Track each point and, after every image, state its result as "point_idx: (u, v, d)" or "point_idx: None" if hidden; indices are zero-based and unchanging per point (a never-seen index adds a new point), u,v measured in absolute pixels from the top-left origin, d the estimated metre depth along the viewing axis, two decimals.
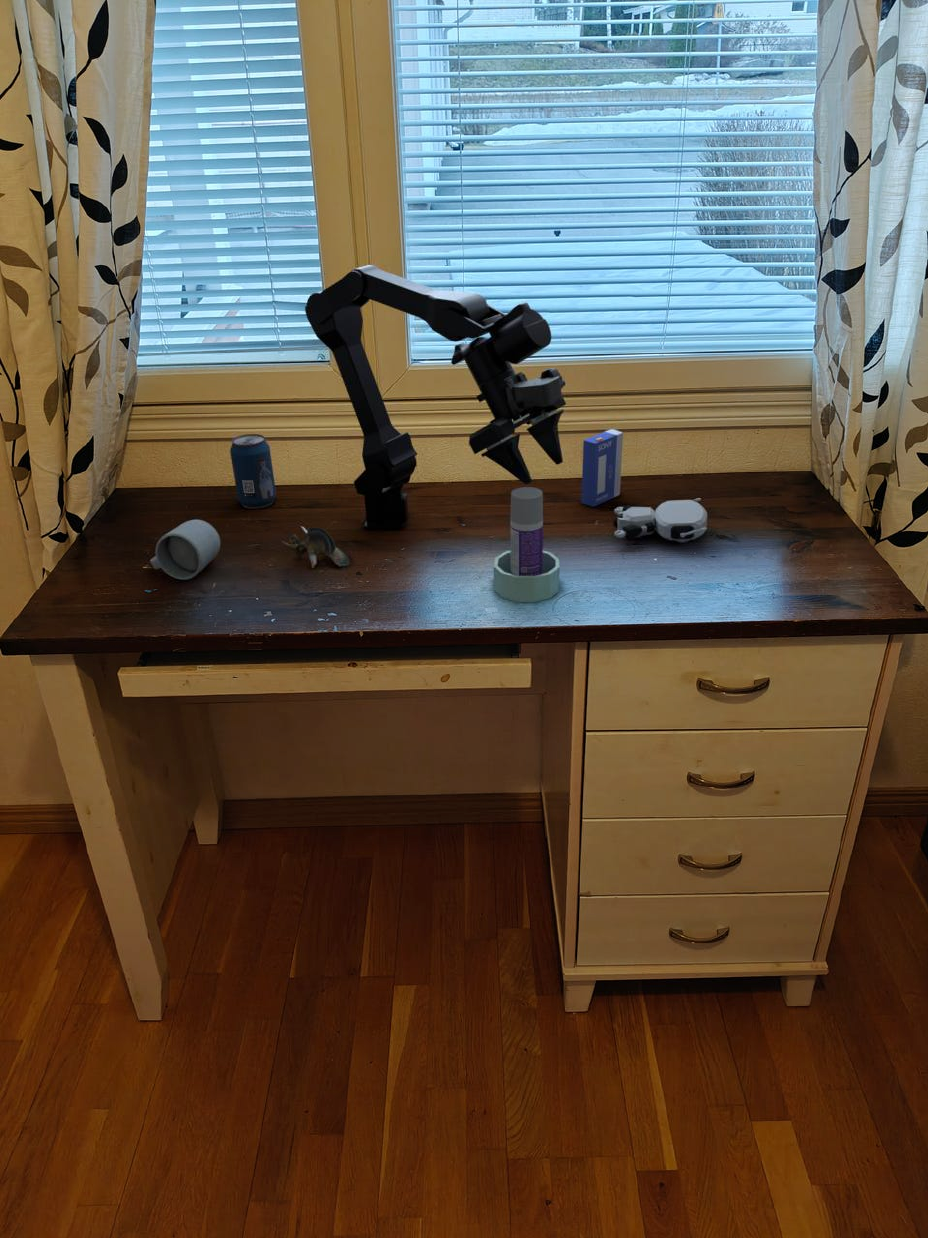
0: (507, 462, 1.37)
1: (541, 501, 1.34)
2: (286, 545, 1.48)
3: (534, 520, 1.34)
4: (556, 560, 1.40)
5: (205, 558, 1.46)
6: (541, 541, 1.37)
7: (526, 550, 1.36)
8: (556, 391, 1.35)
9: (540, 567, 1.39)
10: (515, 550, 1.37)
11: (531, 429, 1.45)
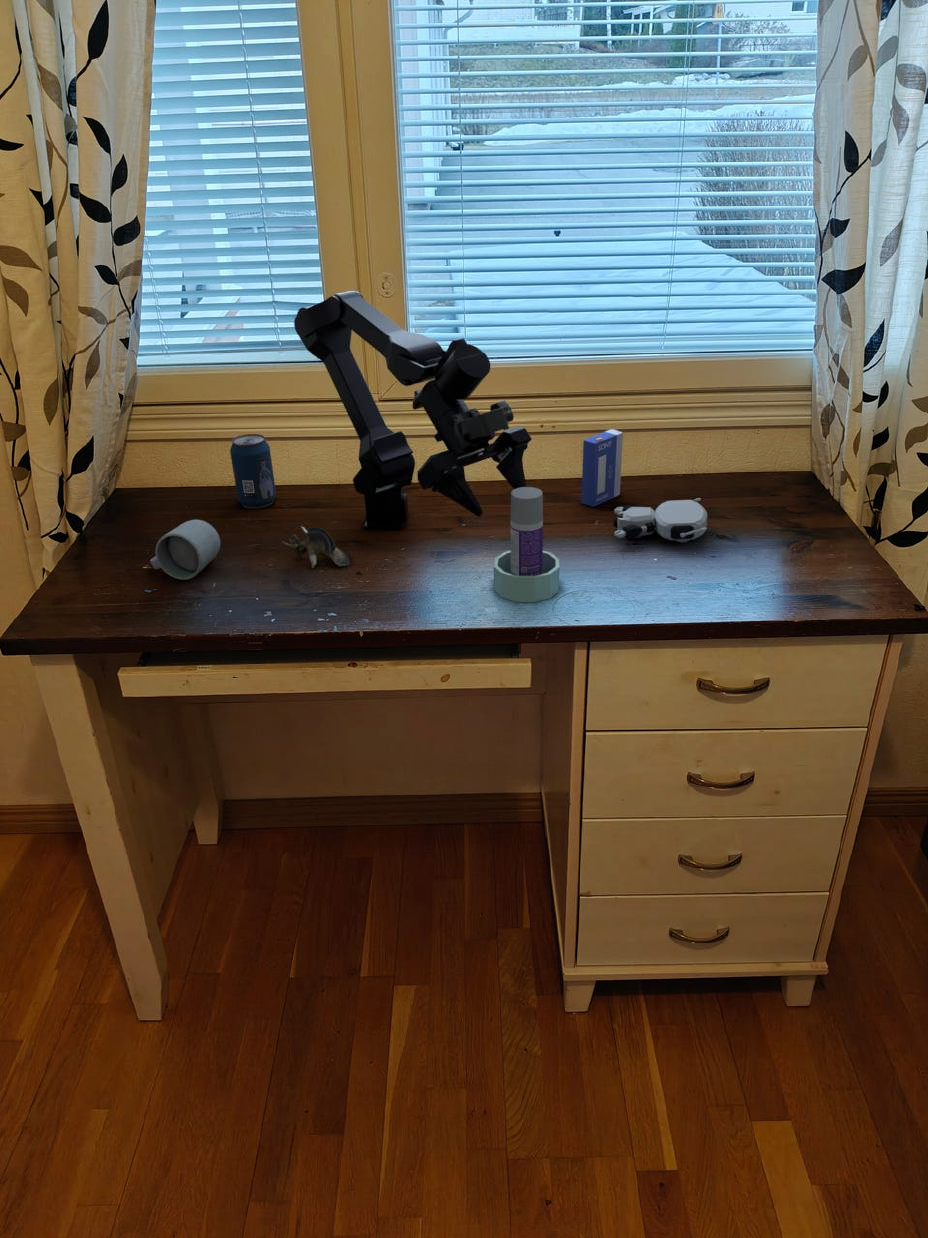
0: (457, 495, 1.37)
1: (541, 501, 1.34)
2: (286, 545, 1.48)
3: (534, 520, 1.34)
4: (556, 560, 1.40)
5: (205, 558, 1.46)
6: (541, 541, 1.37)
7: (526, 550, 1.36)
8: (499, 421, 1.34)
9: (540, 567, 1.39)
10: (515, 550, 1.37)
11: (499, 466, 1.45)
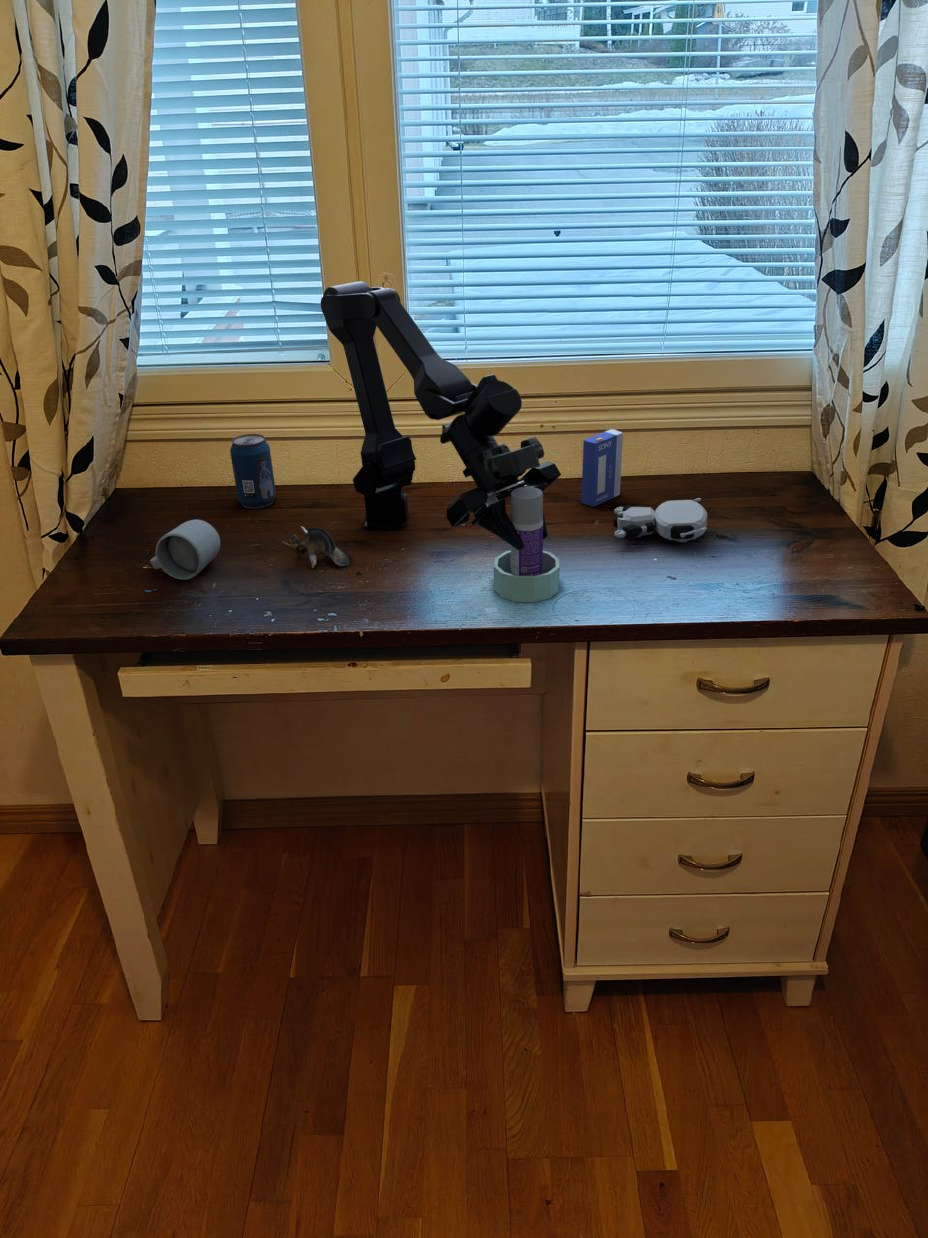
0: (498, 529, 1.36)
1: (541, 501, 1.34)
2: (286, 545, 1.48)
3: (534, 520, 1.34)
4: (556, 560, 1.40)
5: (205, 558, 1.46)
6: (541, 541, 1.37)
7: (526, 550, 1.36)
8: (530, 459, 1.32)
9: (540, 567, 1.39)
10: (515, 550, 1.37)
11: None
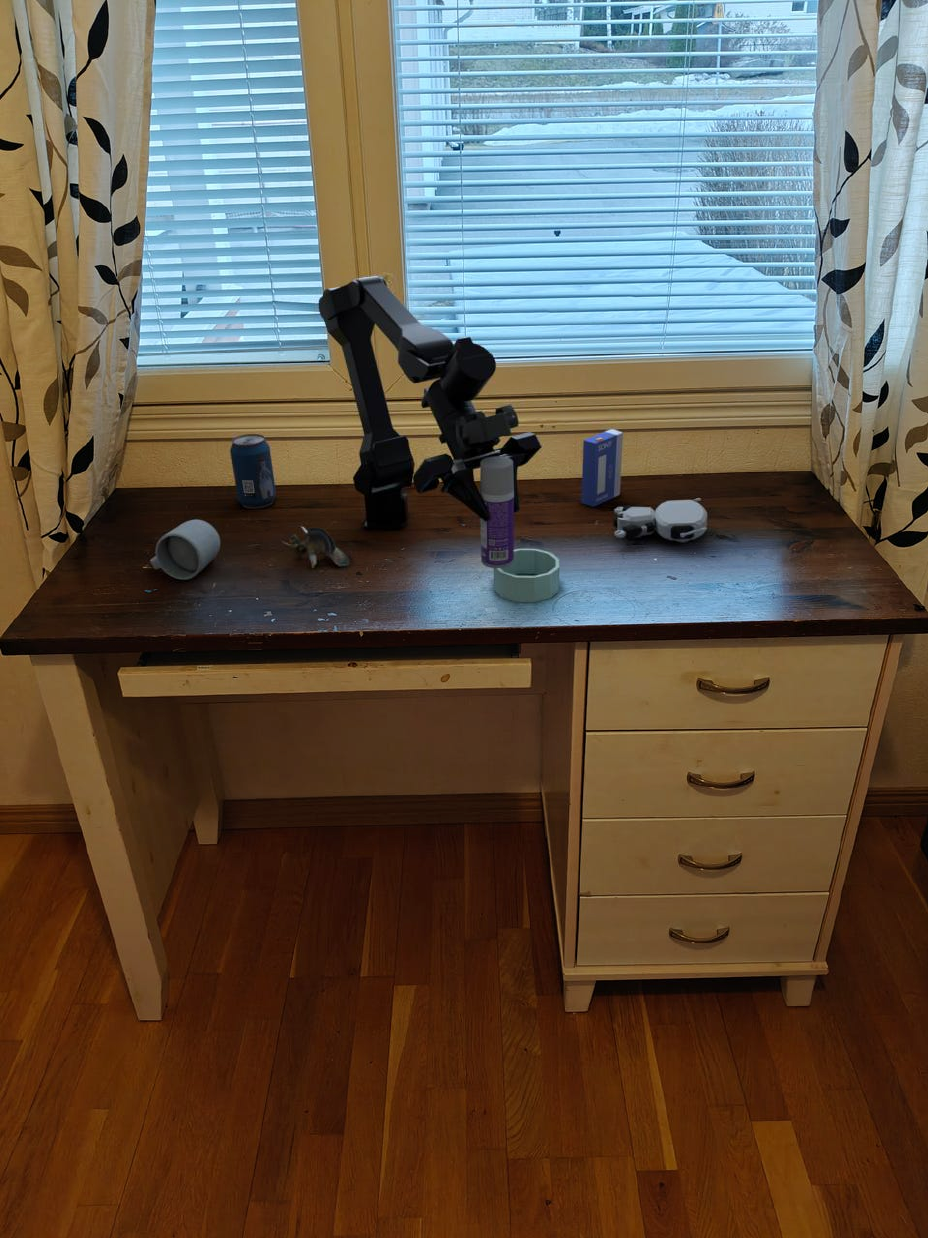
0: (466, 498, 1.32)
1: (510, 472, 1.29)
2: (286, 545, 1.48)
3: (502, 491, 1.29)
4: (556, 560, 1.40)
5: (205, 558, 1.46)
6: (511, 514, 1.32)
7: (493, 522, 1.31)
8: (500, 426, 1.27)
9: (509, 541, 1.34)
10: (483, 521, 1.32)
11: None
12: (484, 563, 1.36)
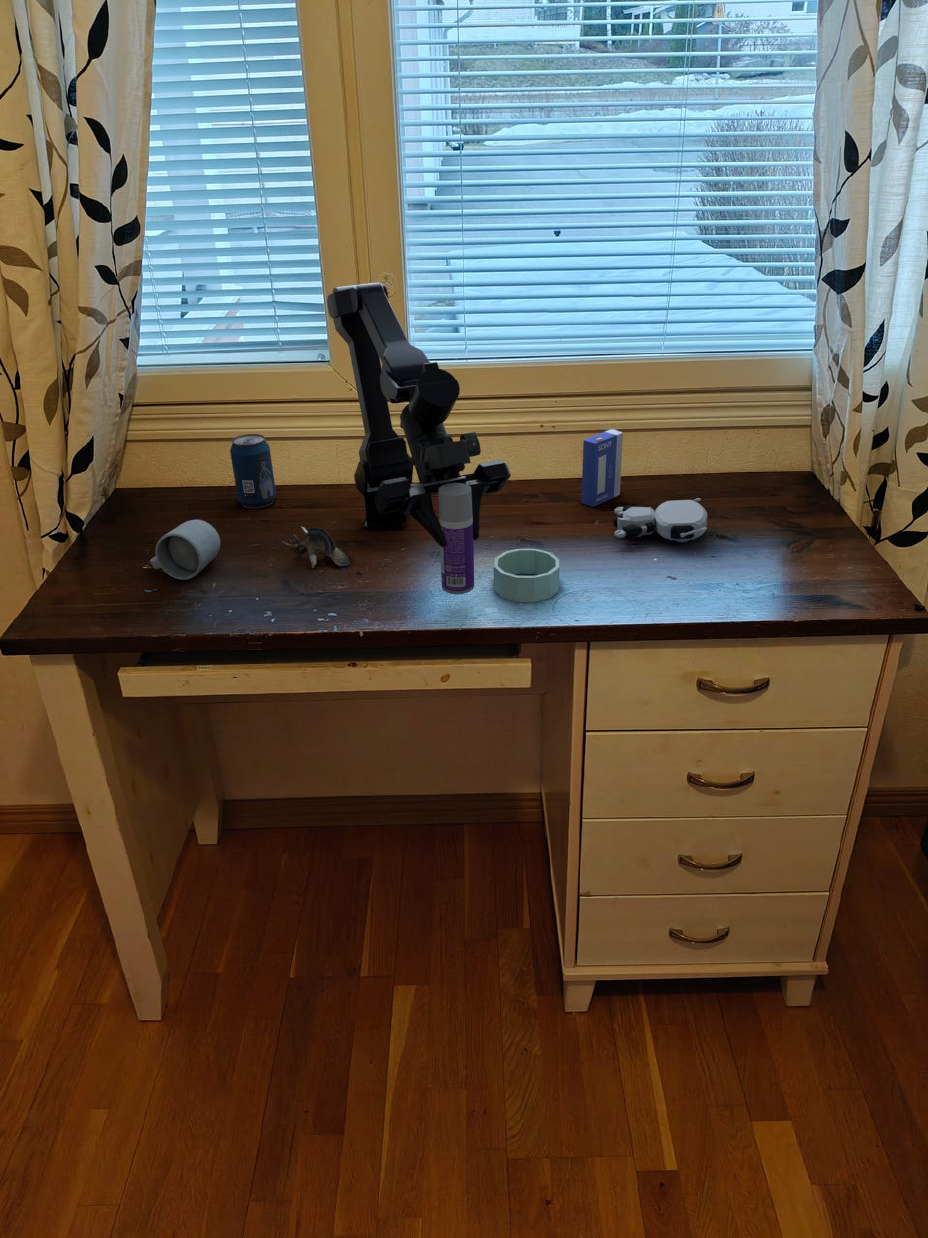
0: (425, 522, 1.32)
1: (467, 500, 1.28)
2: (286, 545, 1.48)
3: (457, 519, 1.28)
4: (556, 560, 1.40)
5: (205, 558, 1.46)
6: (468, 541, 1.31)
7: (449, 548, 1.31)
8: (457, 454, 1.26)
9: (467, 568, 1.33)
10: (441, 547, 1.32)
11: None
12: (443, 588, 1.36)
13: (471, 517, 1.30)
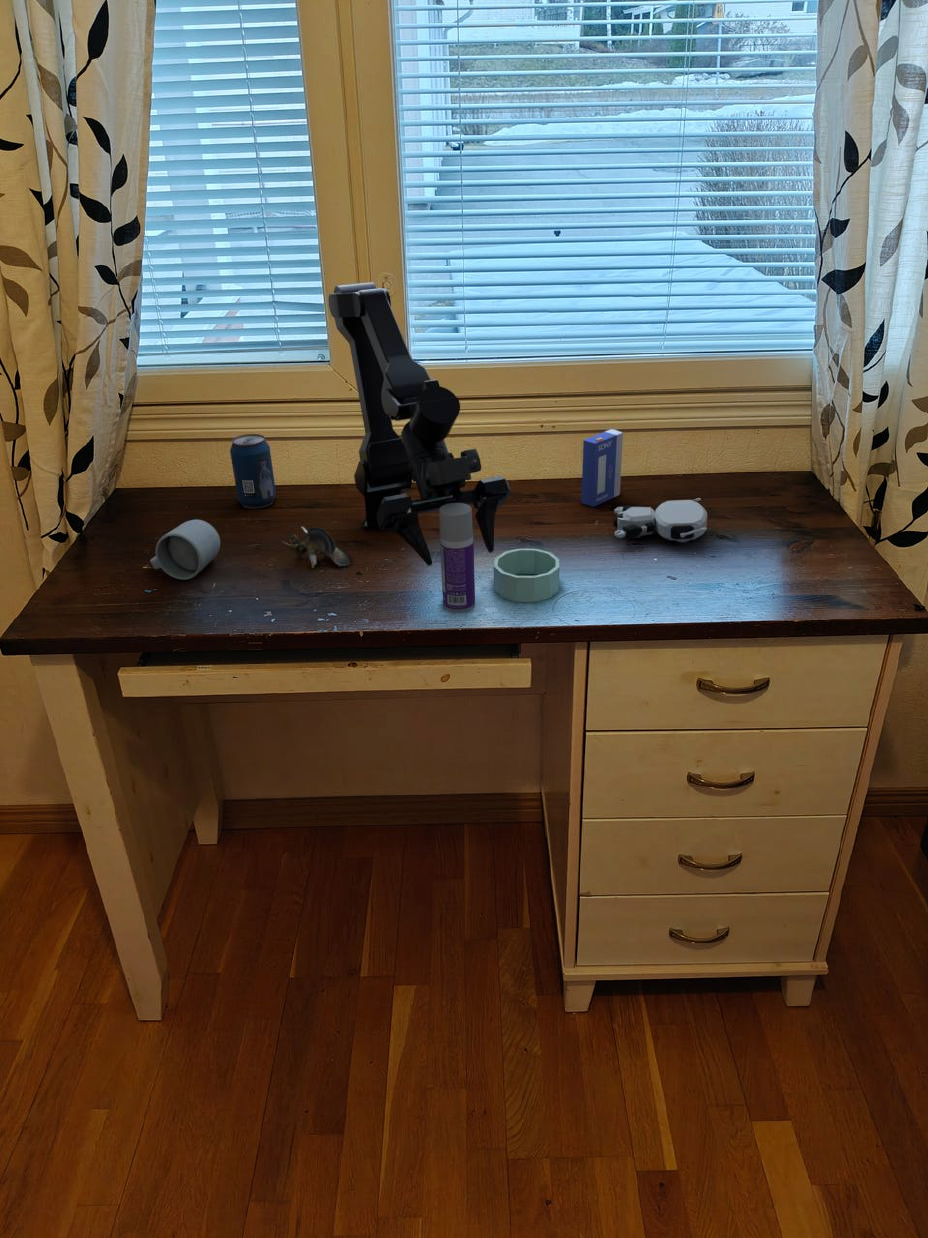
0: (412, 541, 1.32)
1: (467, 519, 1.29)
2: (286, 545, 1.48)
3: (458, 538, 1.30)
4: (556, 560, 1.40)
5: (205, 558, 1.46)
6: (468, 561, 1.32)
7: (450, 567, 1.32)
8: (458, 470, 1.27)
9: (468, 587, 1.34)
10: (441, 566, 1.34)
11: (476, 515, 1.37)
12: (444, 606, 1.37)
13: (471, 536, 1.31)
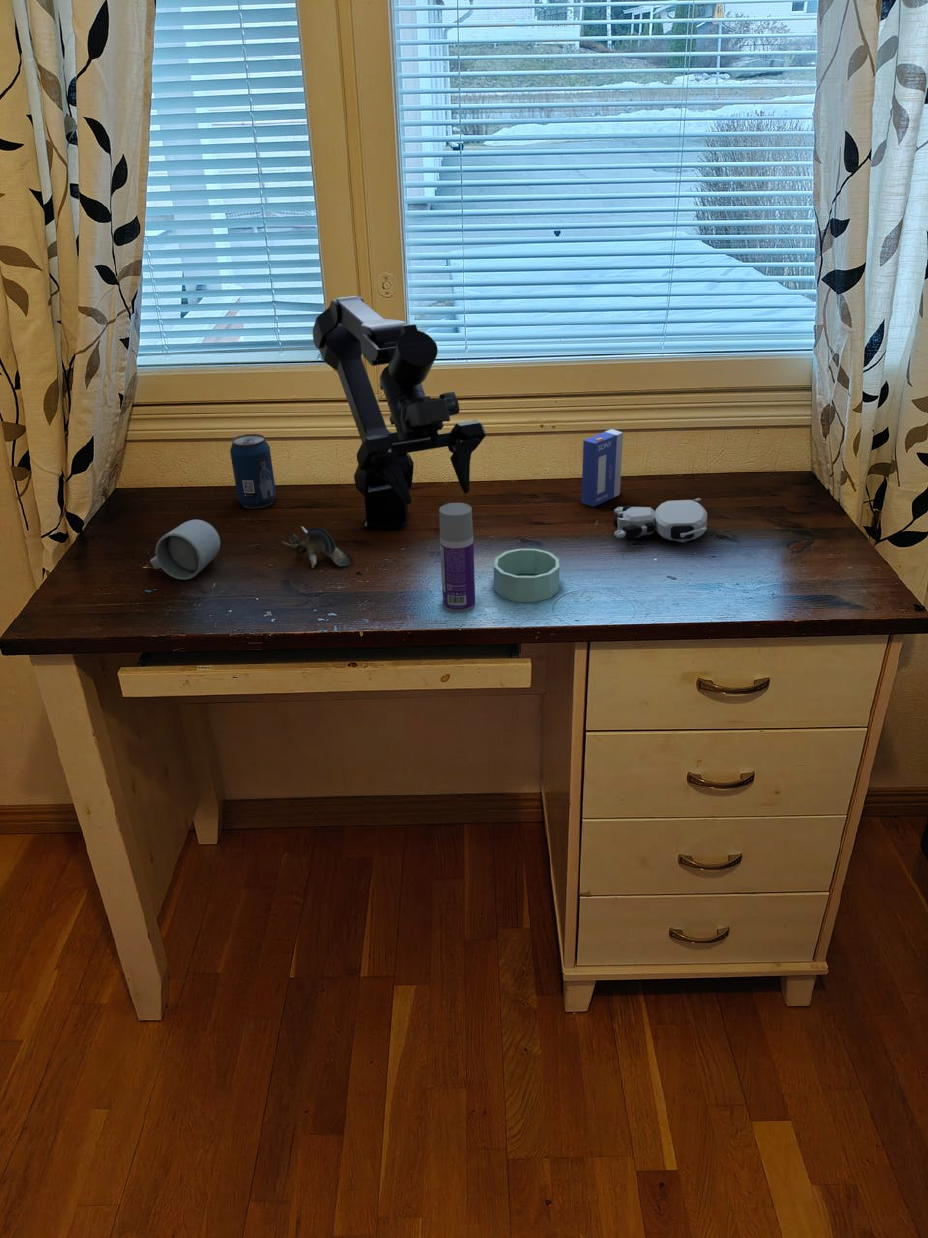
0: (391, 480, 1.37)
1: (467, 519, 1.29)
2: (286, 545, 1.48)
3: (458, 538, 1.30)
4: (556, 560, 1.40)
5: (205, 558, 1.46)
6: (468, 561, 1.32)
7: (450, 567, 1.32)
8: (438, 412, 1.33)
9: (468, 587, 1.34)
10: (441, 566, 1.34)
11: (452, 458, 1.43)
12: (444, 606, 1.37)
13: (472, 536, 1.31)
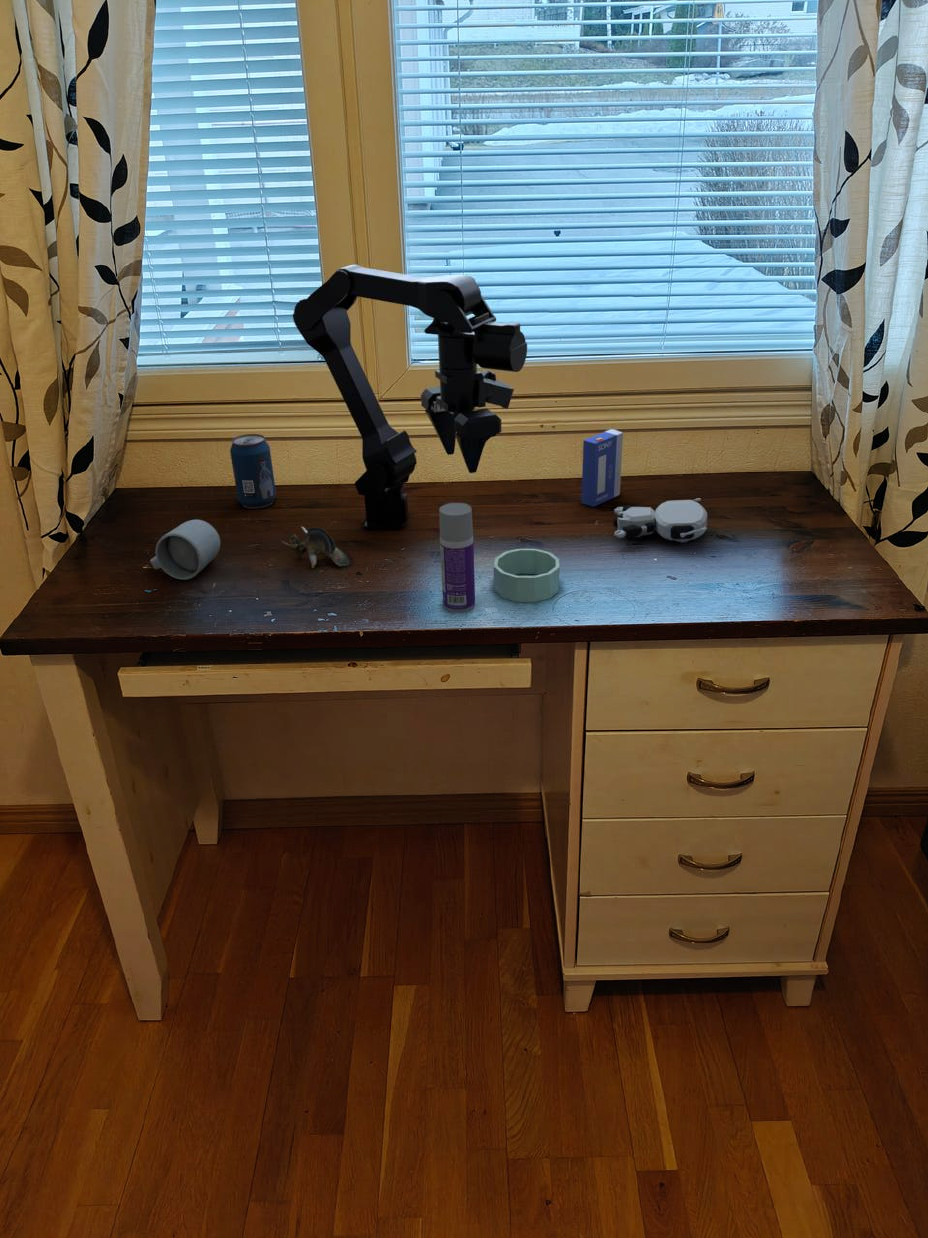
0: (470, 450, 1.44)
1: (467, 519, 1.29)
2: (286, 545, 1.48)
3: (458, 538, 1.30)
4: (556, 560, 1.40)
5: (205, 558, 1.46)
6: (468, 561, 1.32)
7: (450, 567, 1.32)
8: None
9: (468, 587, 1.34)
10: (441, 566, 1.34)
11: (435, 416, 1.51)
12: (444, 606, 1.37)
13: (472, 536, 1.31)
